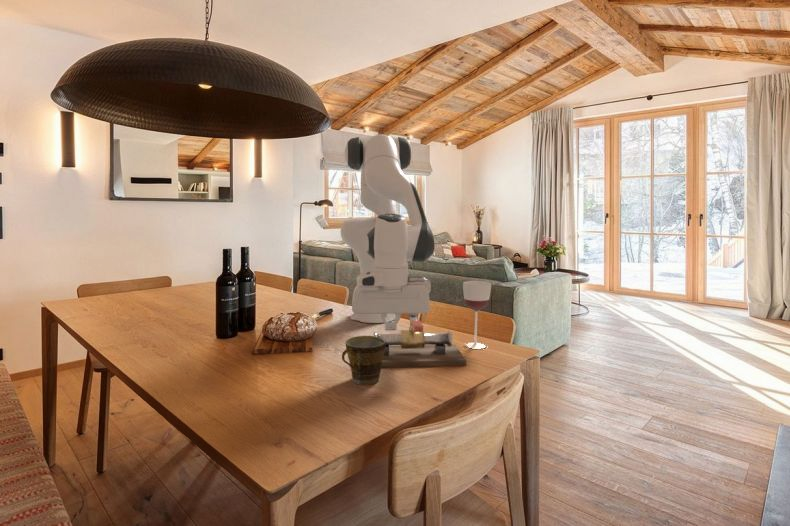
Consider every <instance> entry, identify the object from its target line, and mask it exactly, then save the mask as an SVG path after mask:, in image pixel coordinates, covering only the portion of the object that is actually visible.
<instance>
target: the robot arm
mask: <svg viewBox="0 0 790 526" xmlns="http://www.w3.org/2000/svg"><path fill="white" fill-rule="evenodd" d="M412 148H413V147H412V145H411V142H410V141H409V140H408V139H407V138H405V137H402V136H401V137H399V136H398V137H394V136H390V135H387V134H383V133H381V134H375V135H373V136H365V137H360V136H358V137H357V136H356V137H352V138H350V139H349V140H348V141H347V143H346V145H345V147H344V158H345V161H346V164H347V166H348V167H349V168H350V169H352V170H355V171H360V170H361V171H360V203H361V205H362V206H363V207H364V208H365V209H366V210H368V211H371V212H372V213H375V214H376V215H377V216H376V217H365V216H363V217H352V218H348V219H345V220H344V221H343V222H342V224H341V228H340V237H341V240H342V242H344V244H346V246H348V247H349V248H351V250H352V251H353V252H354V254H355V255H356V257H357V259H358V264H359V270H360V271H359V272H360V274H358V275H357V277H356V286H355V287H354V290H353V294H352V300H351V311H352V312H353V313H352V315H351V316H350V320H351V321H358V322H361V323H367V324H383V323H384V331H397V327H398V326H397V325H398V323H399V321H400V319H402V318H401V317H402V314H408V313H417V314H427V313H429V312H430V310H431V302H430V295H429V294H430V293H431V290H432V284H431V281H430V280H429V279H427V278H426V277H424V276H422V277H414V276H413V277H412V276H409V263H408V262H416V263H425V262H426V261H427V260H428V259H430V258H431V257H432V256H433V254H434V252H435V246H436V244H435V238H434V234H433V231H432V229H431V227H430V225H429V222H428V220H427V217H426V214H425V210H424V208H423V205H422V201H421V198H420V195H419V192H418V189H417V187H416V185H415V183H414V181H413V180H412V179H410V178H408V177H407V176H406V175H405V173H404V172H403V170H404V169H407V168H408V167H410V164H411V163H412V162H411V161H412V158H413V149H412ZM393 201H394V202H396V203H399V204H400V205H402V206H403V207H404V208H405V210H406V212H407V216H408V219H409V222H410V225H408V222H407V219H406V217H405V216H403V215H402V214H398V213H397V211H396V210H395V208H394V205H393Z"/></svg>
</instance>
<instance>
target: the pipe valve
mask: <svg viewBox="0 0 790 526" xmlns="http://www.w3.org/2000/svg"><path fill="white" fill-rule="evenodd" d="M452 334H453V333H452V331H451V330H447V331H446V332H440V333H439V332H438V333H435V332H433V333H432V332H431V333H425V330H424V329H423V332H414V331H413V329H412V327H411V326H409V327H408V329H405V330H404V329H403V330H400V333H381V334H380V333H377V331H376V332H375V331H373V336H376V337H380V338H383V339H384V340H385V341H386V344H385V351H384V356H389V346H401V349H419V348H424V347H425V345H435V352H436V354H437V355H445V345H447V346H448V347H450V346H451V345H453V337H452Z"/></svg>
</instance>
